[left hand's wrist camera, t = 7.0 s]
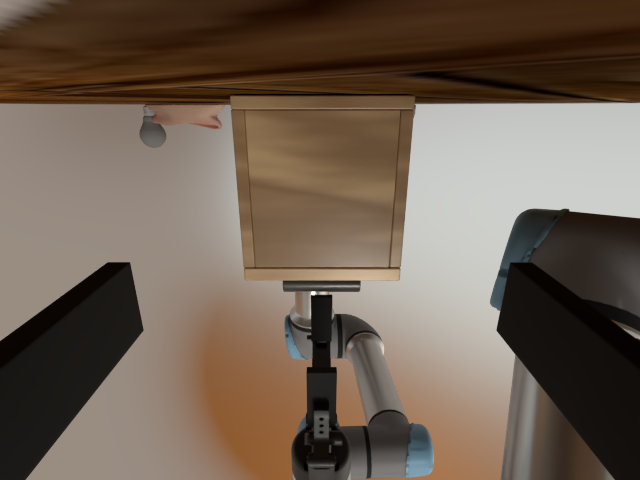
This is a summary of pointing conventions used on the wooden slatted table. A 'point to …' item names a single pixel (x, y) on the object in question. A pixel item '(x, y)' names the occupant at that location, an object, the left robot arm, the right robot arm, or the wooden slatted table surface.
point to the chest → (322, 178)
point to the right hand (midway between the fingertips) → (321, 326)
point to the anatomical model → (187, 114)
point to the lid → (322, 277)
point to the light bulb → (151, 130)
